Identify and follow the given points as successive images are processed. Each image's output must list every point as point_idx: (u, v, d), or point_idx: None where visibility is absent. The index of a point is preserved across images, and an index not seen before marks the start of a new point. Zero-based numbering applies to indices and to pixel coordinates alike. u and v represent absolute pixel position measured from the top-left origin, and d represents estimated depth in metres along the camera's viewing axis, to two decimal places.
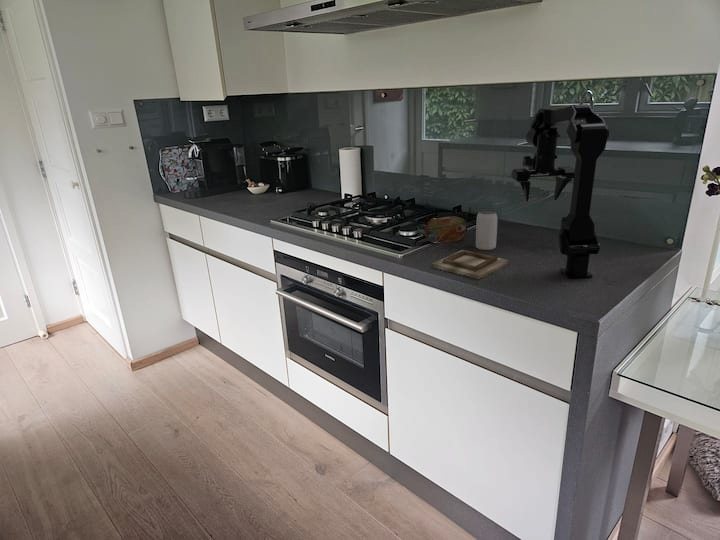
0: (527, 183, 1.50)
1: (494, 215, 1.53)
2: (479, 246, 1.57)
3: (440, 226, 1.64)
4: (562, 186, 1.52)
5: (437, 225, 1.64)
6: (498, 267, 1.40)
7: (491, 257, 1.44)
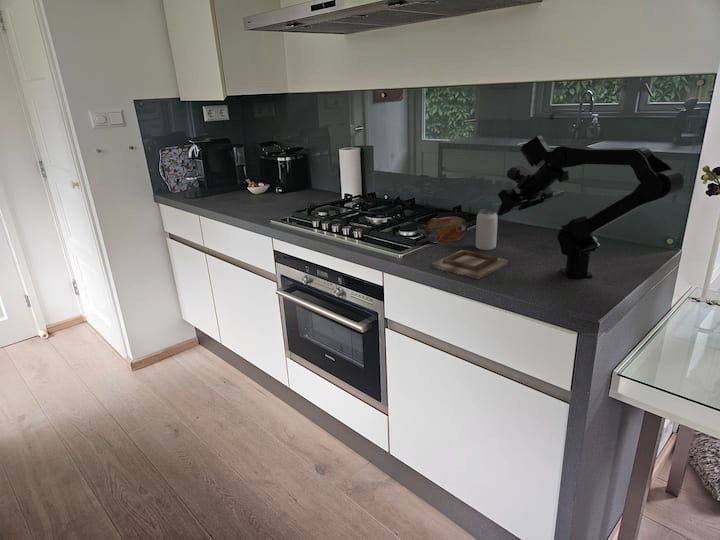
0: (513, 210, 1.39)
1: (494, 215, 1.53)
2: (479, 246, 1.57)
3: (440, 226, 1.64)
4: (533, 205, 1.47)
5: (437, 225, 1.64)
6: (498, 267, 1.40)
7: (491, 257, 1.44)
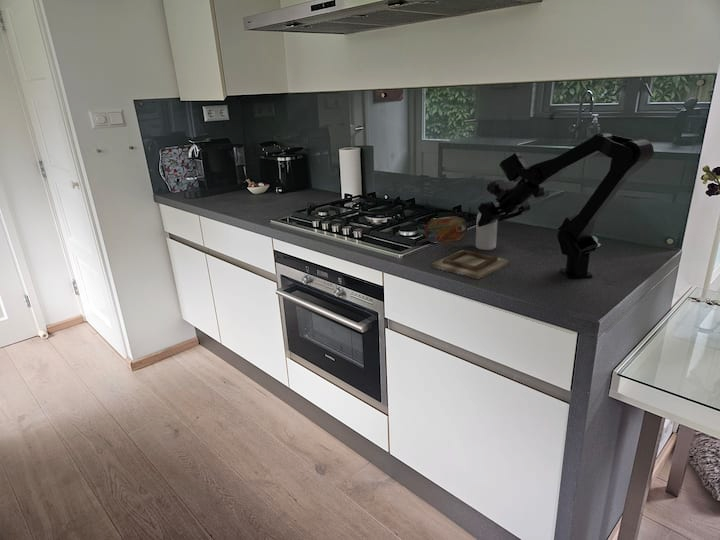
0: (492, 222, 1.47)
1: None
2: (479, 246, 1.57)
3: (440, 226, 1.64)
4: (512, 216, 1.54)
5: (437, 225, 1.64)
6: (498, 267, 1.40)
7: (491, 257, 1.44)
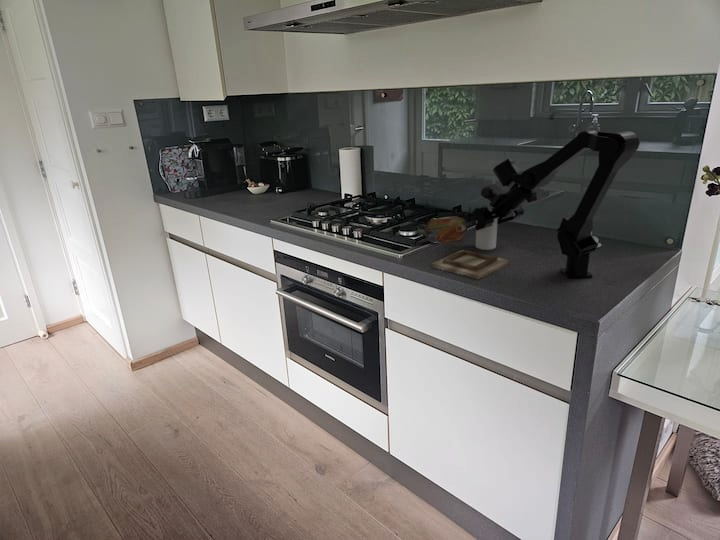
0: None
1: None
2: (479, 246, 1.57)
3: (440, 226, 1.64)
4: (503, 222, 1.56)
5: (437, 225, 1.64)
6: (498, 267, 1.40)
7: (491, 257, 1.44)
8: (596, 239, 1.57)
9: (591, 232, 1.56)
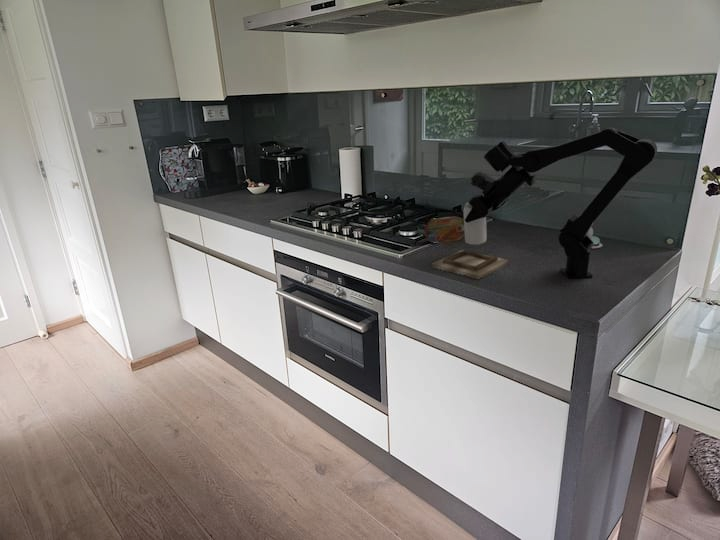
0: None
1: None
2: (472, 242, 1.47)
3: (440, 226, 1.64)
4: None
5: (437, 225, 1.64)
6: (498, 267, 1.40)
7: (491, 257, 1.44)
8: (597, 239, 1.57)
9: (592, 232, 1.56)
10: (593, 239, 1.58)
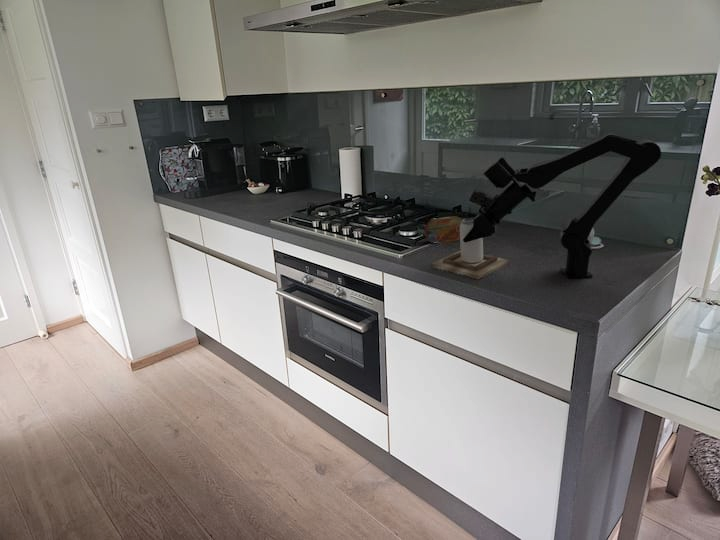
0: None
1: None
2: (471, 260, 1.42)
3: (440, 226, 1.64)
4: None
5: (437, 225, 1.64)
6: (498, 267, 1.40)
7: (491, 257, 1.44)
8: (598, 240, 1.56)
9: (593, 233, 1.55)
10: (594, 239, 1.57)
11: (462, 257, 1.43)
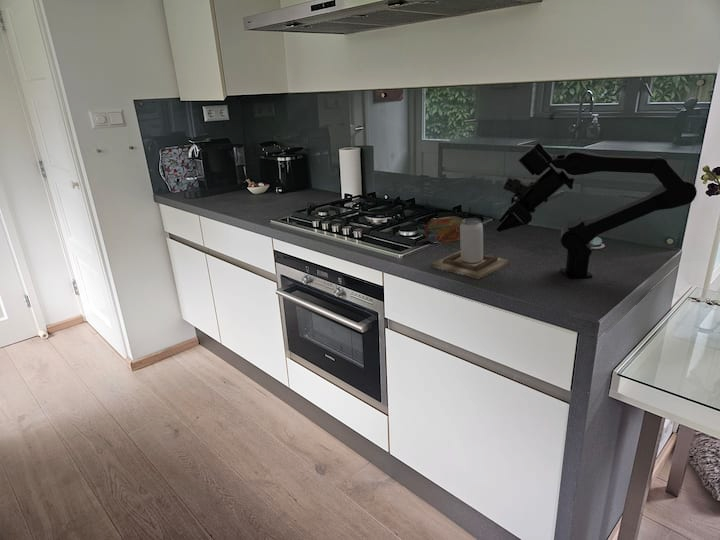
0: None
1: (481, 223, 1.39)
2: (471, 260, 1.42)
3: (440, 226, 1.64)
4: None
5: (437, 225, 1.64)
6: (498, 267, 1.40)
7: (491, 257, 1.44)
8: (600, 240, 1.56)
9: None
10: (595, 239, 1.57)
11: (462, 257, 1.43)
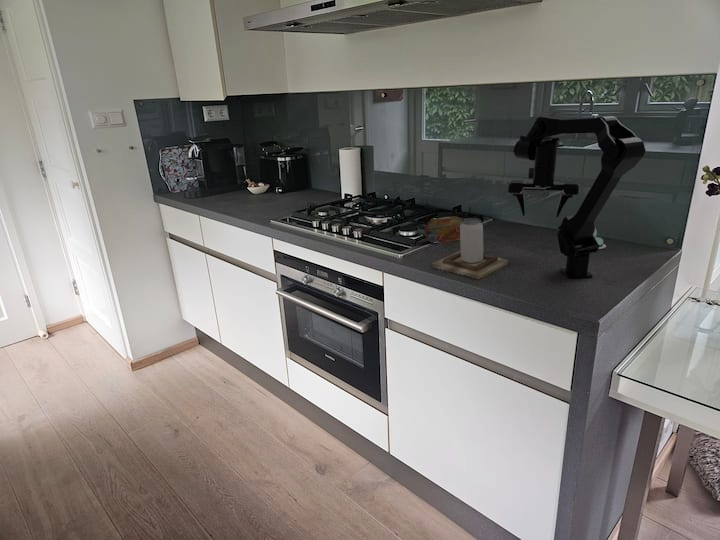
0: (519, 196, 1.40)
1: (481, 223, 1.39)
2: (471, 260, 1.42)
3: (440, 226, 1.64)
4: (561, 202, 1.38)
5: (437, 225, 1.64)
6: (498, 267, 1.40)
7: (491, 257, 1.44)
8: (601, 240, 1.56)
9: (596, 233, 1.55)
10: (597, 240, 1.57)
11: (462, 257, 1.43)
